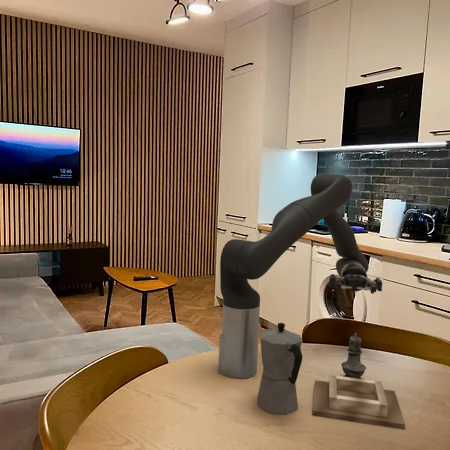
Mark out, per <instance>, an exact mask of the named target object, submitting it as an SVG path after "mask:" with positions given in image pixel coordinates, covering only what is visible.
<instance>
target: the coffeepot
mask: <svg viewBox="0 0 450 450" xmlns="http://www.w3.org/2000/svg"><path fill="white" fill-rule="evenodd" d="M285 326H286V324H285V323H283V322H278V323H277V329H276V328H265V331H261V332H259V339H260V341H259V342H260V349H261V359H262V360H261V361H262V369H263V370H262V371H263V372H262V373H261V378H260V383H259V388H258V392H257V397H256V399H257V401H256V402H257V403H256V404H257V405H256V406H257V407H258V408H259V409H260V410H262V411H264V412H266V413H268V414H273V415H288V414H289V415H290V414H292V413H294V412H296V411H297V409H299V404H298V403H299V402H298V395H297V385H296V383H297V379H298V376H299V373H300V369H301V366H302V362H303V352H302V350H301V348H302V345H303V344H302V343H303V340H302V336H301V335H300V334H298V333H295V332H293V331H289V330H285V328H286V327H285Z"/></svg>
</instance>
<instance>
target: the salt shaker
mask: <svg viewBox="0 0 450 450" xmlns="http://www.w3.org/2000/svg"><path fill="white" fill-rule="evenodd" d="M348 340H349V341H348V343H349V344H348V348H347V349H346V351H347V359H346V361H343V362H342V363H341V367H342V371H343V373H344V375H342V377H349V378H357V379H363V377H362V376H363V375H364V374H365V371H366V369H367V367H366V365H364V363H362V361H361V356H362V354H363V350H362V339H361V337H359V336H358V333H357V332H355V333H354V335H352V336H350V337H349V339H348Z"/></svg>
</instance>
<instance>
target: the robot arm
mask: <svg viewBox="0 0 450 450" xmlns="http://www.w3.org/2000/svg"><path fill="white" fill-rule="evenodd" d="M352 192H353V184H352V181H351V179H350V178H349V177H347V176H345V175H343V174H335V173H334V174H330V173H327V174H325V173H324V174H321V173H320V174H318V175H315V176H314V177H313V178H312V181H311V183H310V194H311V195H309V196H306V197H303V198H299V199H297V200H294V201H292V202H290V203H289V204H287V205H286V206H284V207H283V208H282V209H280V210H279V211H278V212H277V213H276V214H275V215H274V217H273V220H272V224H271V231H270V232H269V233H267V235H266V236H264V237H263V238H261V239H260V240H257V241H251V240H246V239H245V240H244V239H237V238H233V239H230V240H228V241H227V242H226V243H225V244H224V245H223V247H222V250H221V253H220V259H219V263H220V265H219V276H220V277H219V278H220V279H219V281H220V284H219V285H220V288H219V289H220V293H221V295H222V321H221V322H222V324H221V334H219V338H218V339H219V343H218V367H217V370H218V371H217V372H218V374H222V375H224V376H226V377H229V378H233V379H247V378H248V379H249V378H252V377H254V376H255V375H256V374H257V373H258V372H257V371H258V353H259V336H260V310H261V309H260V308H261V295H260V293H259V292H258V291H257V290H256V289H254V287H252V286H251V284H250V283H249V281H248V280H258V279H260V278H261V277H263V276H264V275H265V274H266V273H267V272H269V270H270V269H271V268H272V267H273V266H274V265H275V263H276V262H277V261H278V260H279V259H280V257H282V255H284V253H286V252H287V251H288V250H289V249H290V248H291V247H292V246H293V245H294V244H295V243H297V241H299V240H300V239H301V238H303V237H304V236H305V235H306V234H307V233H309V231H311V230H312V228H314V227H315V226H316V225H317V224H318V223H320V222H321V221H322V220H323V222H324V223H325V225H326V226H327V228H328V231H329V233H330V236H331V239H332V242H333V245H334V248H335V251H336V254H337V255H338V256H339V257H341V258H339V259H337V260H336V263H335V269H336V272H337V274H338V275H339V276H338V277H337V275H335V274H334V273H333V274H330V275H329V282H328V286H329V288H334V287H335V289H336V290H337V291H339V292H341V291H342V289H343V290H345V289H346V290H347V291H350V292H355V293H356V292H357V293H358V292H360V291H367V292H368V291H370V292H369V293H370V294H373V295H374V293H377V291H378V292H382V291H383V280H381V278H380V277H375V278H373V279H371V277H370V278H369V277H368V274H367V272H368V271H369V268H370V267H369V262H368V260H367V258H366V256H365V254H363V253H362V251H361V250H360V248H359V246H358V244H357V243H358V242H357V240H356V236H355V235H356V234H355V232H354V230H353V228H352V226H351V225H350V224H349V223H348V222H347V220H346V219H345V218H344V217H343V216H342V215H341V214H340V212H338V209H339V208H341V207H342V206H343V205H345V204H346V203H347V202H348V200H349V199H350V197H351V196H352Z"/></svg>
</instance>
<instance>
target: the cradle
mask: <svg viewBox="0 0 450 450" xmlns="http://www.w3.org/2000/svg"><path fill="white" fill-rule="evenodd" d="M342 376H343V375H342ZM342 376H341V375H333V374H329V380H328V381H325V380H324V381H323V380H317V379H316V380H314V387H313V388H314V389H313V390H314V391H313V403H312V416H315V417H316V416H317V417H323V418H330V419H335V420H342V421H343V420H344V421H347V422H348V421H349V422H356V423H362V424H369V425H374V426H383V427H388V428H389V427H390V428H395V429H401V430H402V429H403V430H405V429H406V422H405V420H404V417H403V413H402V410H401V407H400V404H399V400H398V397H397V393H396V391H395V390H390V389H384V386H383V383H382V381H379V380H370V379H364V378H362V379H357V378H349V377H342Z"/></svg>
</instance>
